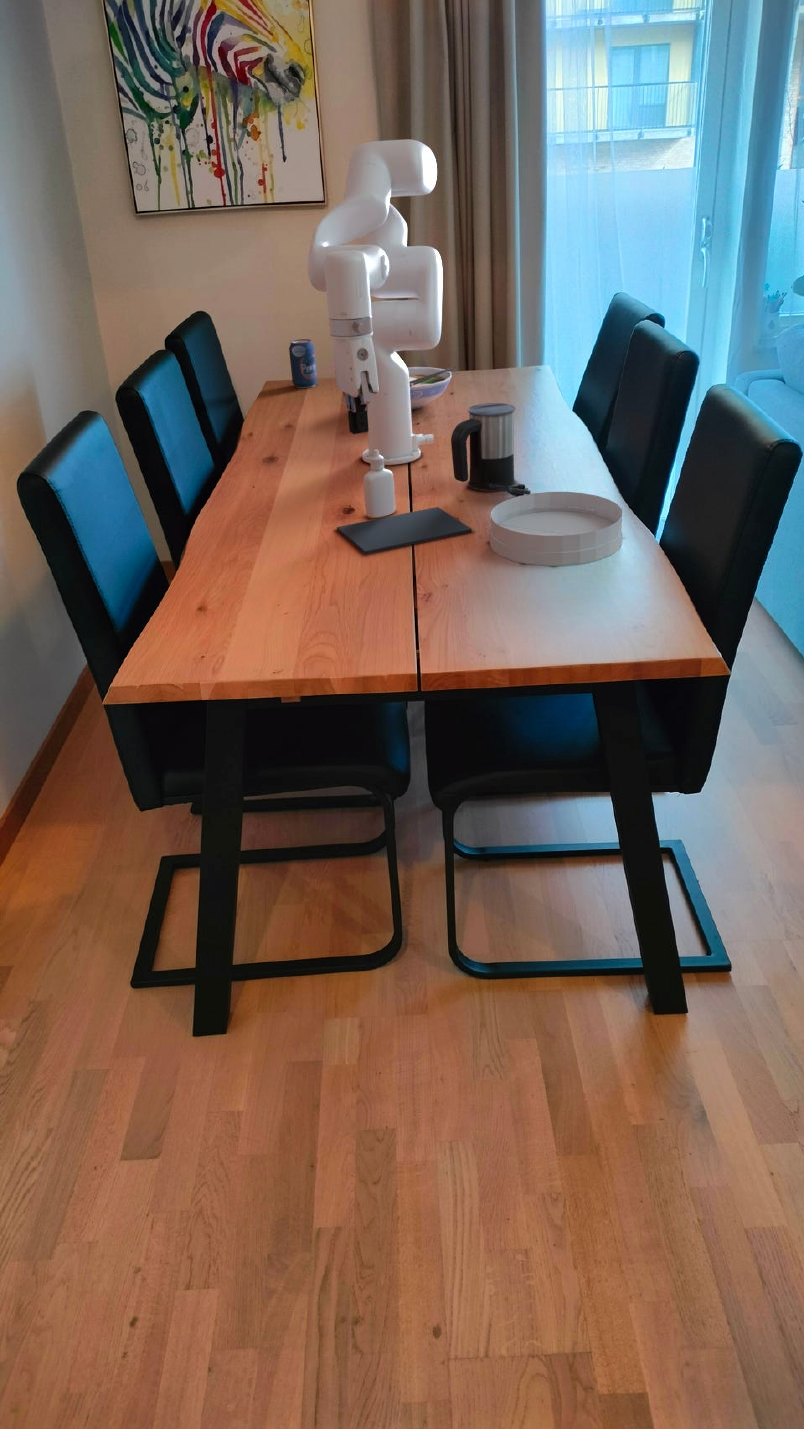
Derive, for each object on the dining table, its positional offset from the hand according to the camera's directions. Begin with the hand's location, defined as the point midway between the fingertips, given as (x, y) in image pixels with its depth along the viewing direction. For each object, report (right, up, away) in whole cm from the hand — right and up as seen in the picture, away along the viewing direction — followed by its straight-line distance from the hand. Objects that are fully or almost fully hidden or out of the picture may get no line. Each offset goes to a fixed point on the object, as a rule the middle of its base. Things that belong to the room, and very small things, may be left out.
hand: (359, 432), depth 190 cm
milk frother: (+27, -9, +9) cm, 30 cm away
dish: (+34, -23, -16) cm, 44 cm away
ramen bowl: (+10, +26, +70) cm, 75 cm away
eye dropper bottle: (+4, -15, +1) cm, 16 cm away
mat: (+8, -20, -8) cm, 23 cm away
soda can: (-19, +40, +98) cm, 108 cm away
